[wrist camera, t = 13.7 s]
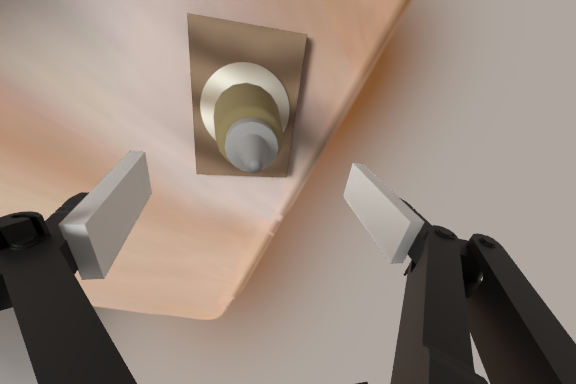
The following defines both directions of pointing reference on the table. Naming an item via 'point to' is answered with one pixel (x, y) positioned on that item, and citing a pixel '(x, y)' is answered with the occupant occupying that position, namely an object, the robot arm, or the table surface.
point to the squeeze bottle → (248, 127)
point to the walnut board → (241, 69)
